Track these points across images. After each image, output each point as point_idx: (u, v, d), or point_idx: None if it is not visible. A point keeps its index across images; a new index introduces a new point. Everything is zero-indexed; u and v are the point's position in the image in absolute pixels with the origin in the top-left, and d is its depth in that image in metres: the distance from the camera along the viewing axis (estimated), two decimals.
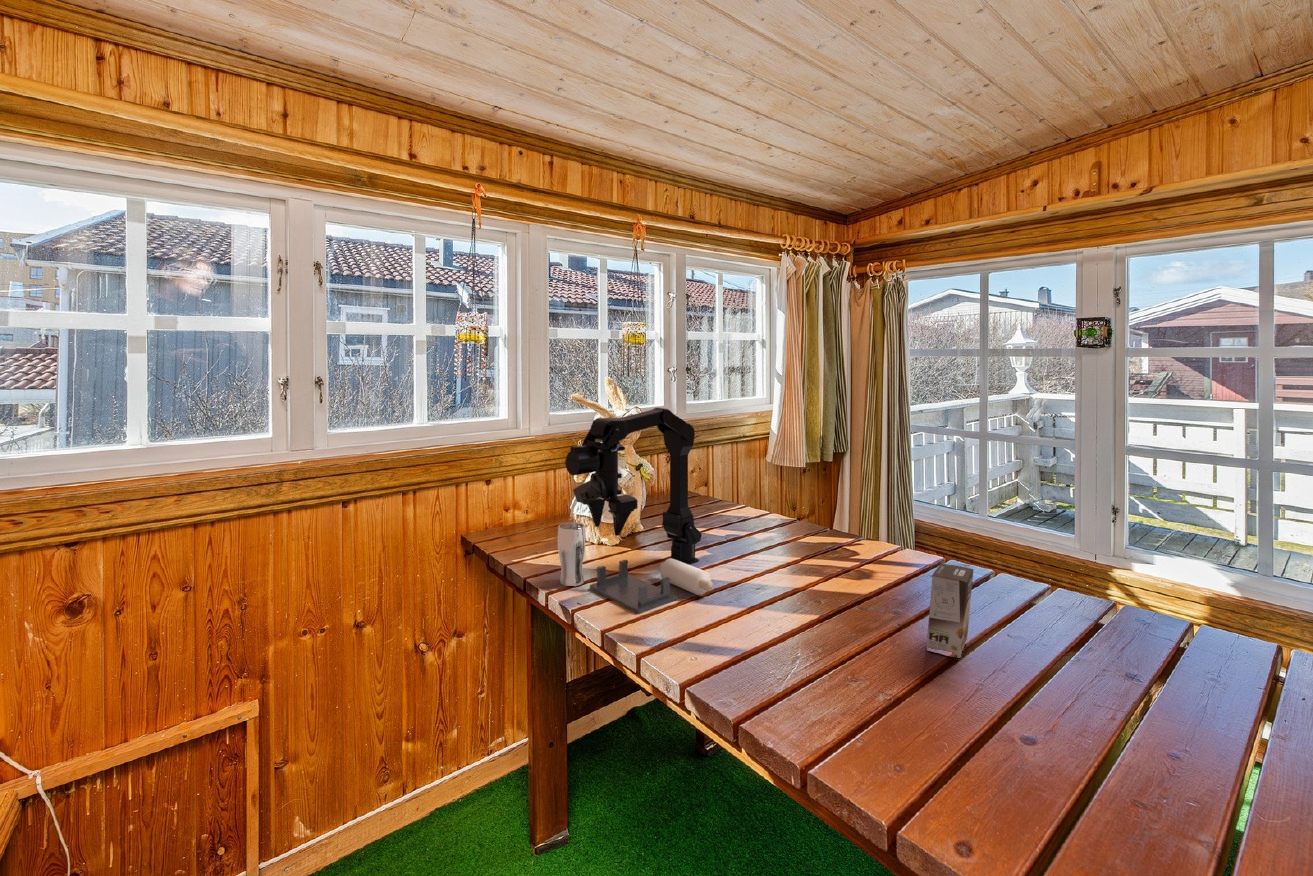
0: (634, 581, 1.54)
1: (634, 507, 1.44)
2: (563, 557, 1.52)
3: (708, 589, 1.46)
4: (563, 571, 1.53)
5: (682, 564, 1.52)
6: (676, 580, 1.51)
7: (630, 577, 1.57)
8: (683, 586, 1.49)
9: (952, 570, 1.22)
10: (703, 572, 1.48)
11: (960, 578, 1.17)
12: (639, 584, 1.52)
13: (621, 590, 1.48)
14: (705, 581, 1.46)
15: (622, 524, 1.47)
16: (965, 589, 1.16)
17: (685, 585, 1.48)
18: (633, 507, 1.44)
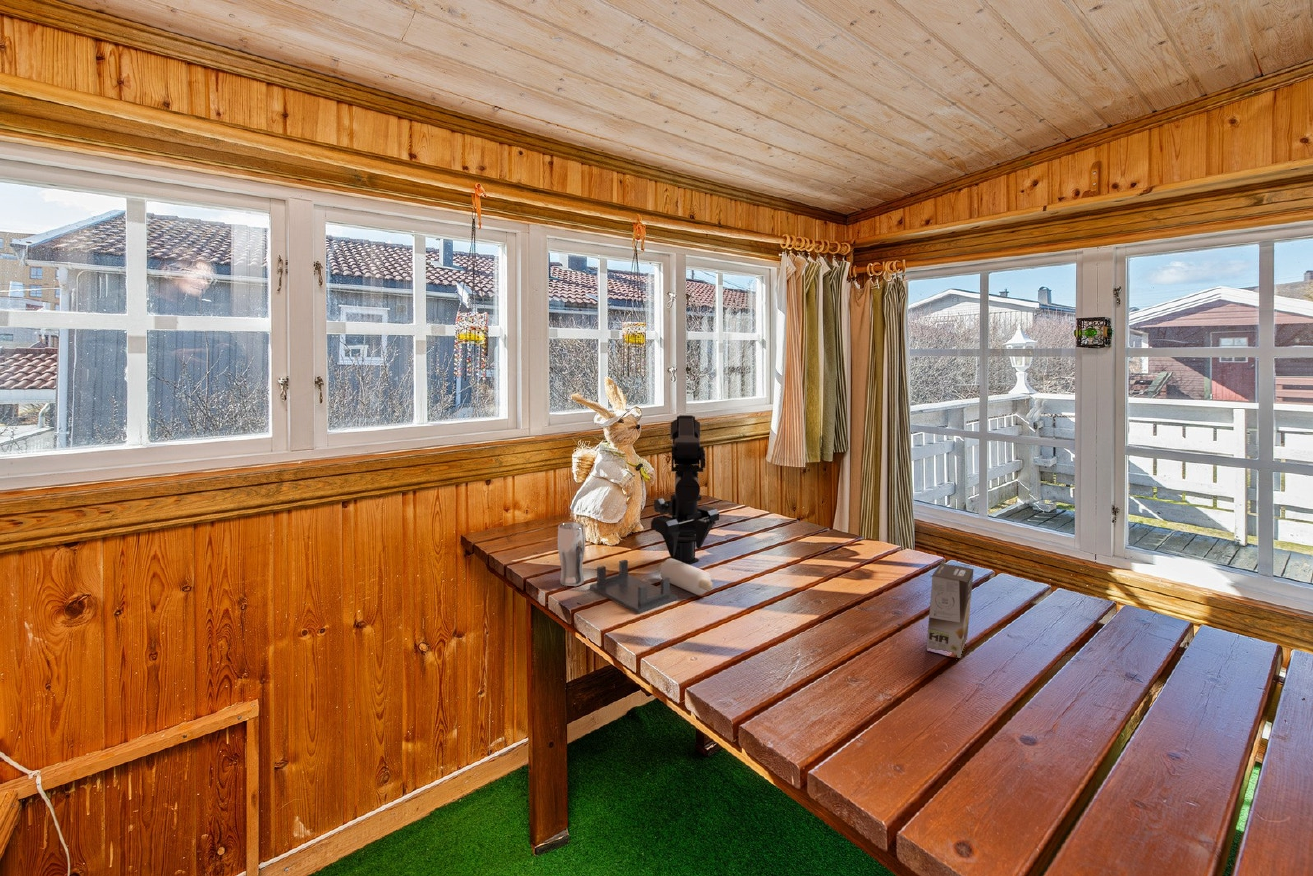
0: (634, 581, 1.54)
1: (662, 531, 1.43)
2: (563, 557, 1.52)
3: (708, 589, 1.46)
4: (563, 571, 1.53)
5: (682, 564, 1.52)
6: (676, 580, 1.51)
7: (630, 577, 1.57)
8: (683, 586, 1.49)
9: (952, 570, 1.22)
10: (703, 572, 1.48)
11: (960, 579, 1.17)
12: (639, 584, 1.52)
13: (621, 590, 1.48)
14: (705, 581, 1.46)
15: (671, 546, 1.47)
16: (965, 589, 1.16)
17: (685, 585, 1.48)
18: (662, 530, 1.43)
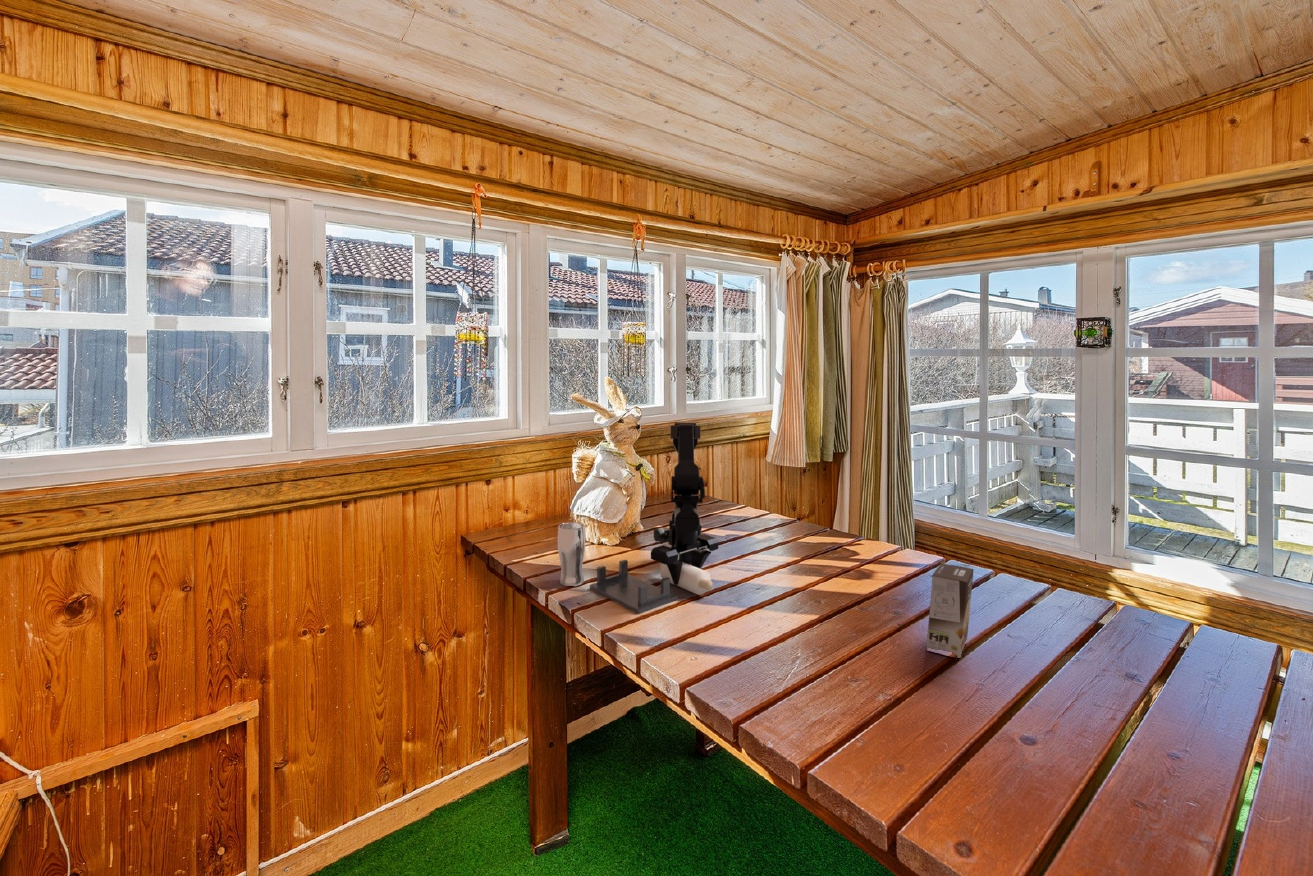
0: (634, 581, 1.54)
1: (662, 561, 1.44)
2: (563, 557, 1.52)
3: (708, 589, 1.46)
4: (563, 571, 1.53)
5: (682, 564, 1.52)
6: None
7: (630, 577, 1.57)
8: (683, 586, 1.49)
9: (952, 570, 1.22)
10: (703, 572, 1.48)
11: (961, 579, 1.17)
12: (639, 584, 1.52)
13: (621, 590, 1.48)
14: (705, 581, 1.46)
15: (675, 575, 1.49)
16: (965, 589, 1.16)
17: (685, 585, 1.48)
18: (661, 561, 1.44)
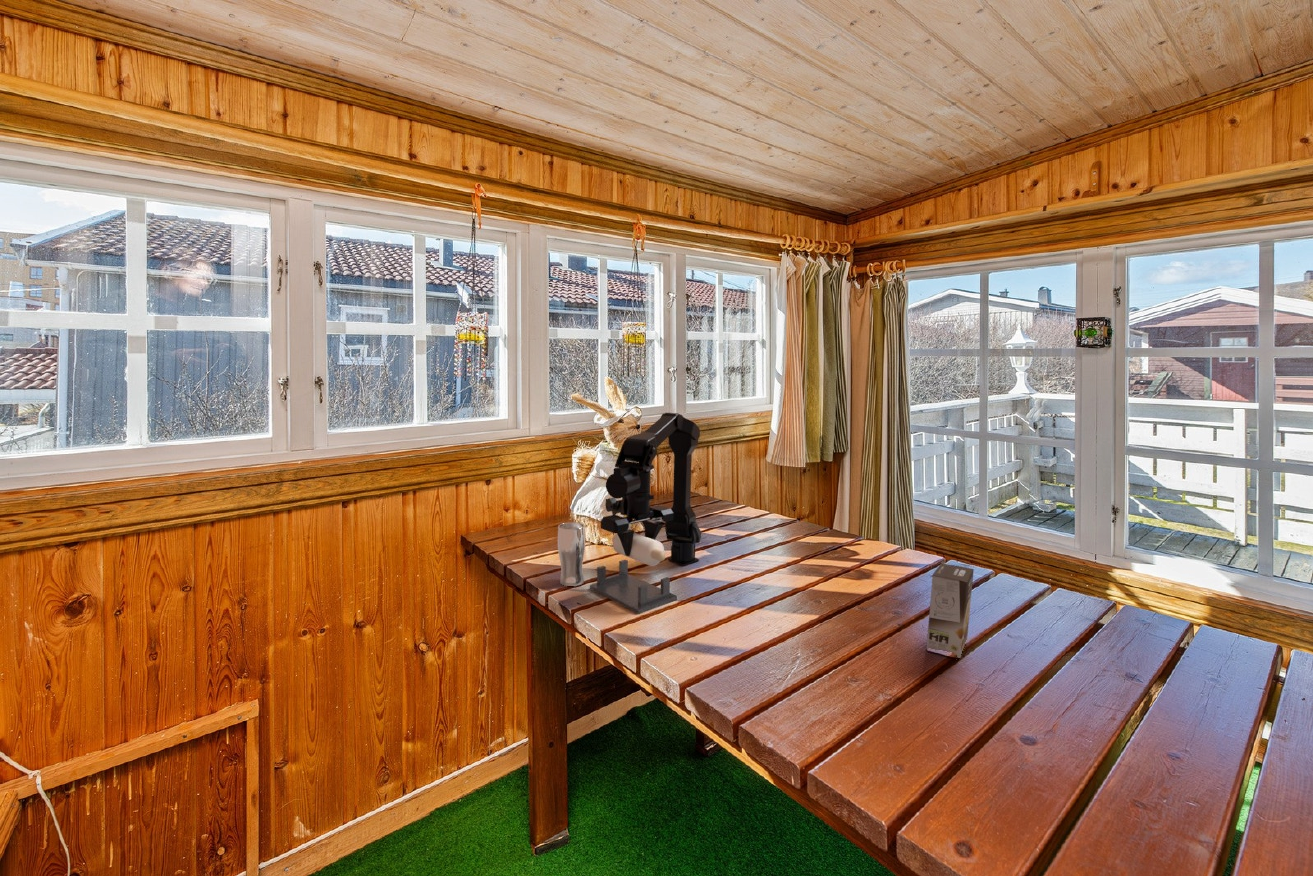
0: (634, 581, 1.54)
1: (612, 530, 1.38)
2: (563, 557, 1.52)
3: (660, 559, 1.40)
4: (563, 571, 1.53)
5: (635, 535, 1.46)
6: None
7: (630, 577, 1.57)
8: (635, 557, 1.43)
9: (952, 570, 1.22)
10: (656, 542, 1.42)
11: (961, 579, 1.17)
12: (639, 584, 1.52)
13: (621, 590, 1.48)
14: (657, 551, 1.40)
15: (626, 546, 1.43)
16: (965, 589, 1.16)
17: (637, 555, 1.42)
18: (611, 530, 1.38)
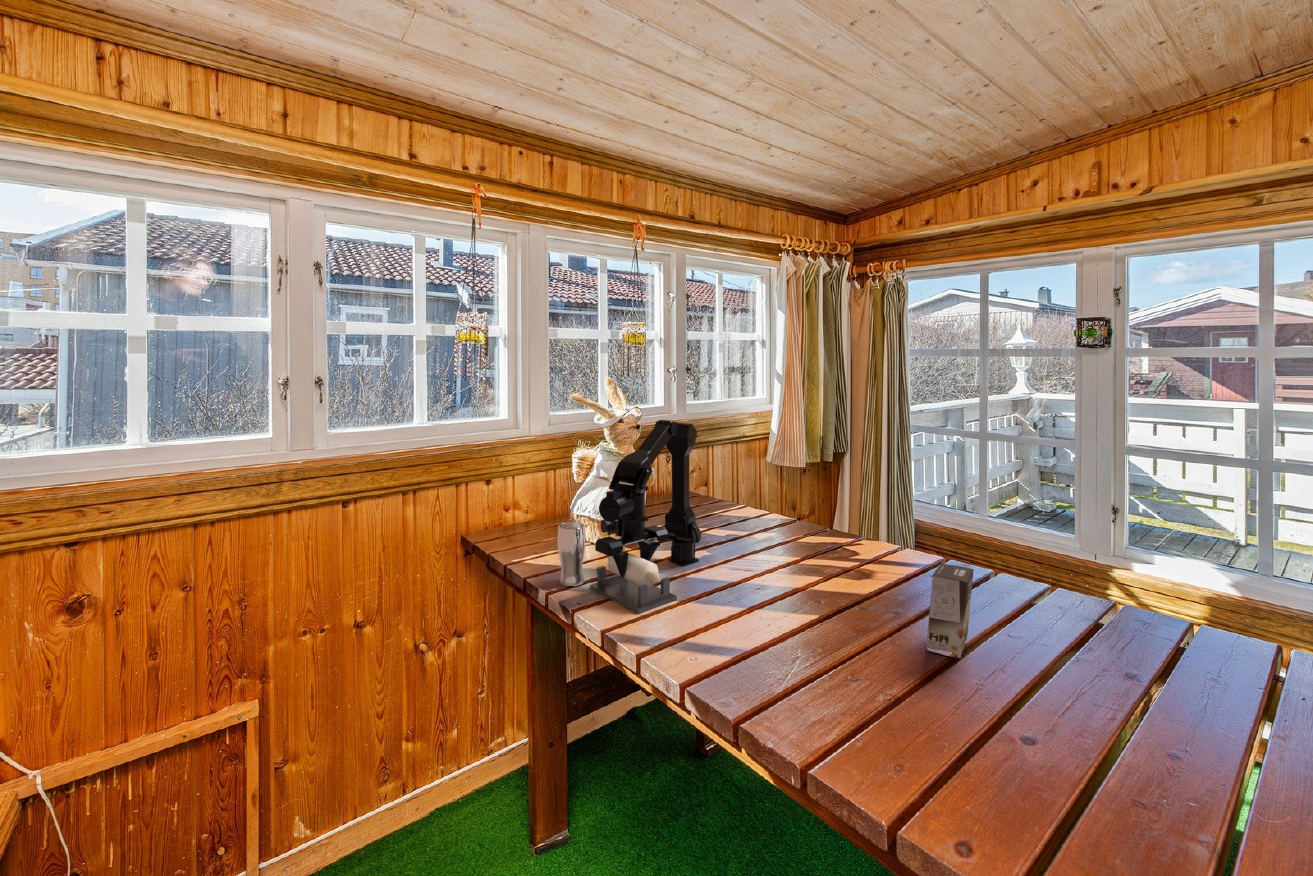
0: None
1: (606, 553, 1.39)
2: (563, 557, 1.52)
3: (654, 581, 1.41)
4: (563, 571, 1.53)
5: (630, 555, 1.47)
6: None
7: None
8: (630, 578, 1.44)
9: (952, 570, 1.22)
10: (650, 564, 1.43)
11: (960, 579, 1.17)
12: None
13: (621, 590, 1.48)
14: (651, 573, 1.41)
15: (621, 567, 1.44)
16: (965, 589, 1.16)
17: (632, 577, 1.43)
18: (605, 552, 1.39)
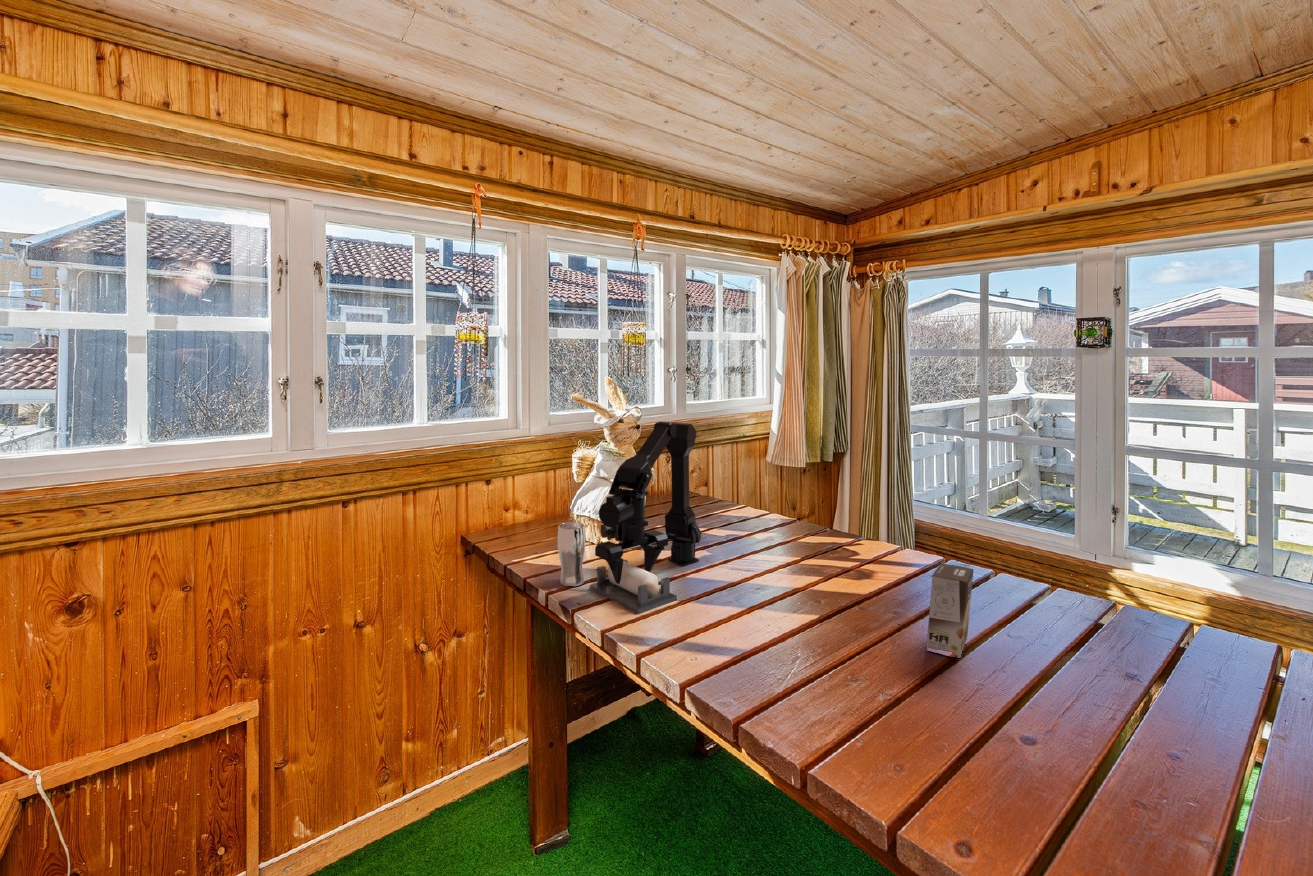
0: None
1: (606, 558, 1.39)
2: (563, 557, 1.52)
3: (654, 592, 1.41)
4: (563, 571, 1.53)
5: (629, 566, 1.47)
6: (623, 583, 1.46)
7: None
8: (630, 589, 1.44)
9: (952, 570, 1.22)
10: (650, 574, 1.43)
11: (960, 579, 1.17)
12: None
13: (621, 590, 1.48)
14: (651, 584, 1.41)
15: (616, 573, 1.43)
16: (965, 589, 1.16)
17: (631, 588, 1.43)
18: (605, 557, 1.39)
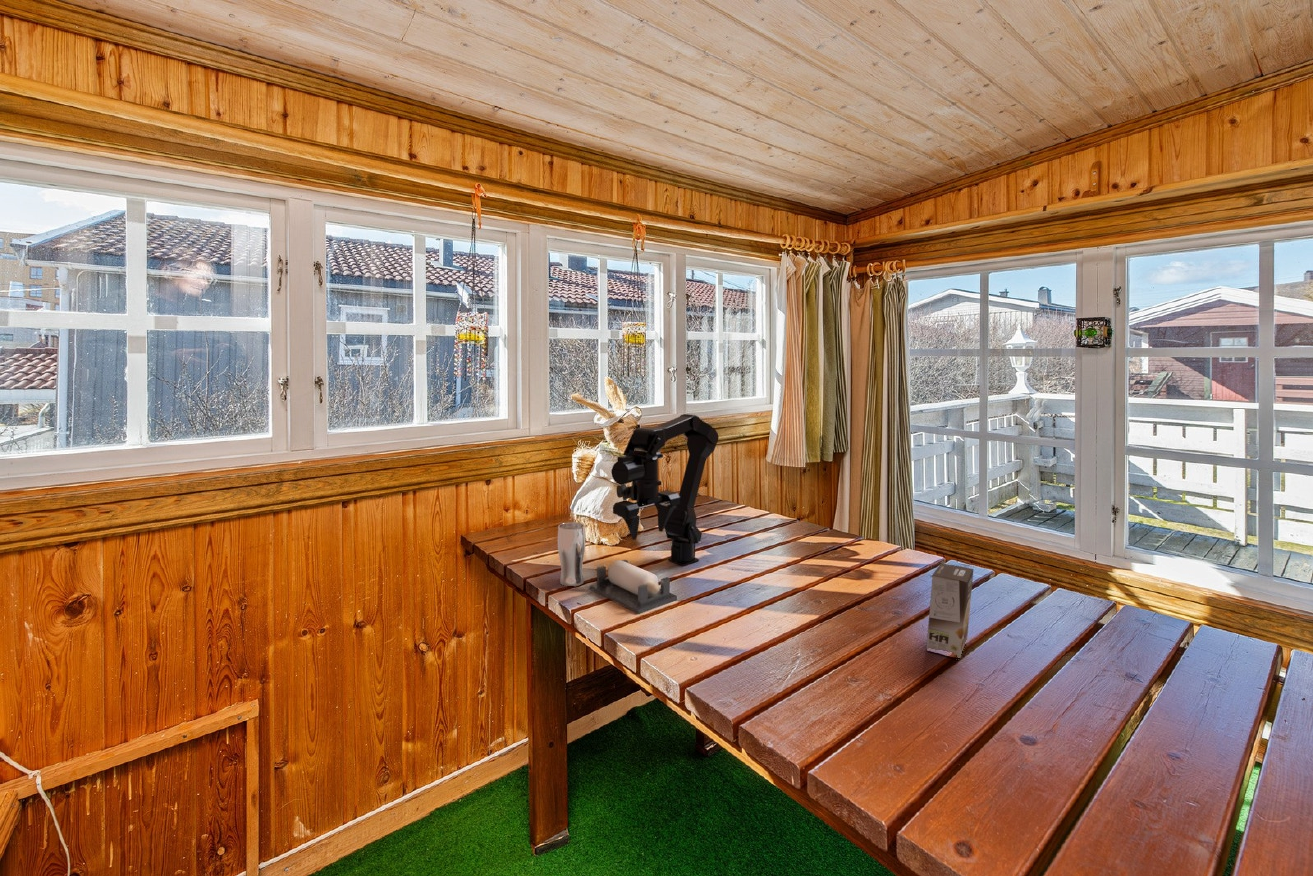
0: None
1: (623, 515, 1.49)
2: (563, 557, 1.52)
3: (654, 592, 1.41)
4: (563, 571, 1.53)
5: (629, 566, 1.47)
6: (623, 583, 1.46)
7: None
8: (630, 589, 1.44)
9: (952, 570, 1.22)
10: (650, 575, 1.43)
11: (960, 579, 1.17)
12: None
13: (621, 590, 1.48)
14: (651, 584, 1.41)
15: (633, 530, 1.53)
16: (965, 589, 1.16)
17: (631, 588, 1.43)
18: (623, 515, 1.49)
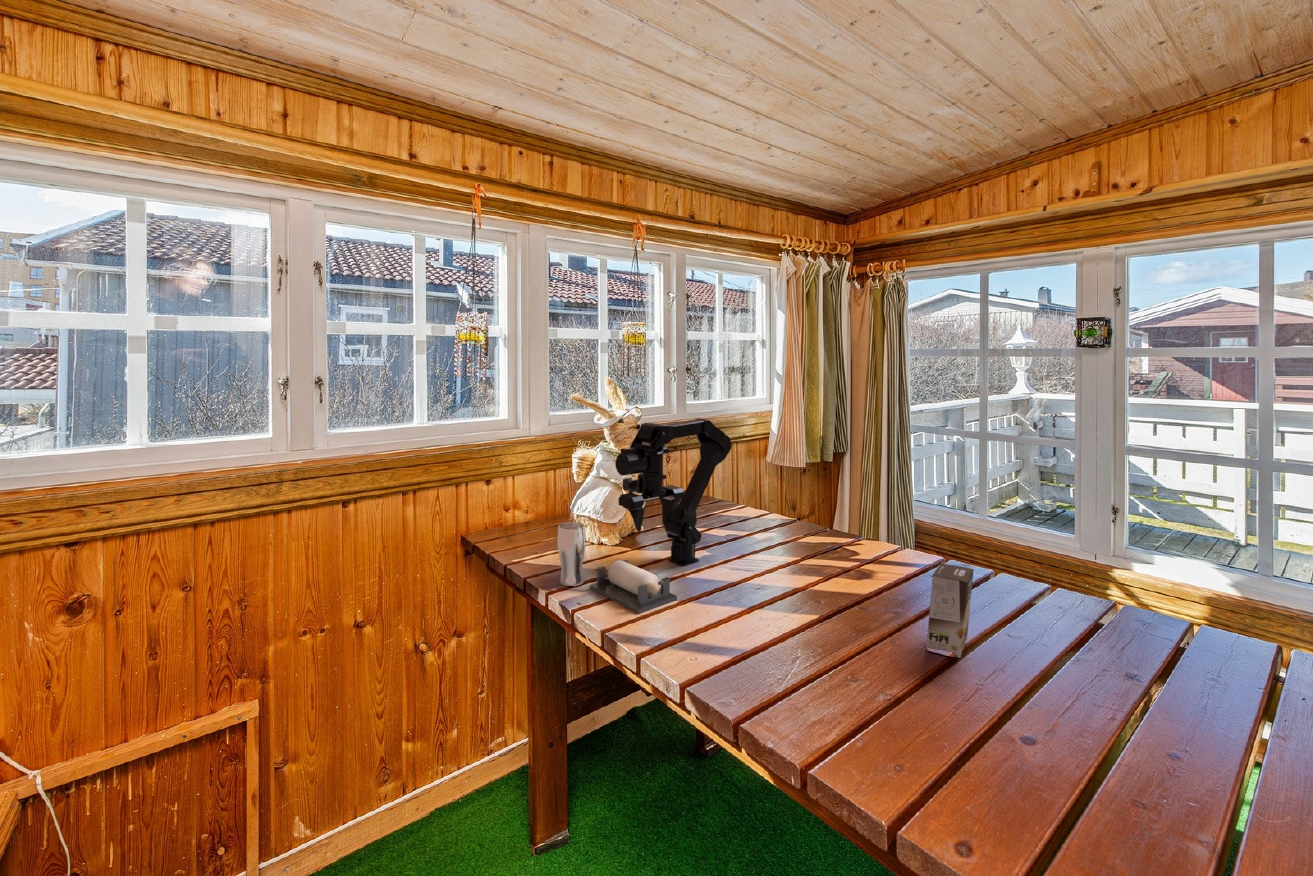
0: None
1: (629, 506, 1.54)
2: (563, 557, 1.52)
3: (654, 592, 1.41)
4: (563, 571, 1.53)
5: (629, 566, 1.47)
6: (623, 584, 1.46)
7: None
8: (629, 589, 1.44)
9: (952, 570, 1.22)
10: (649, 575, 1.43)
11: (960, 579, 1.17)
12: None
13: (621, 590, 1.48)
14: (651, 584, 1.41)
15: (637, 522, 1.57)
16: (965, 589, 1.16)
17: (631, 588, 1.43)
18: (628, 506, 1.54)
